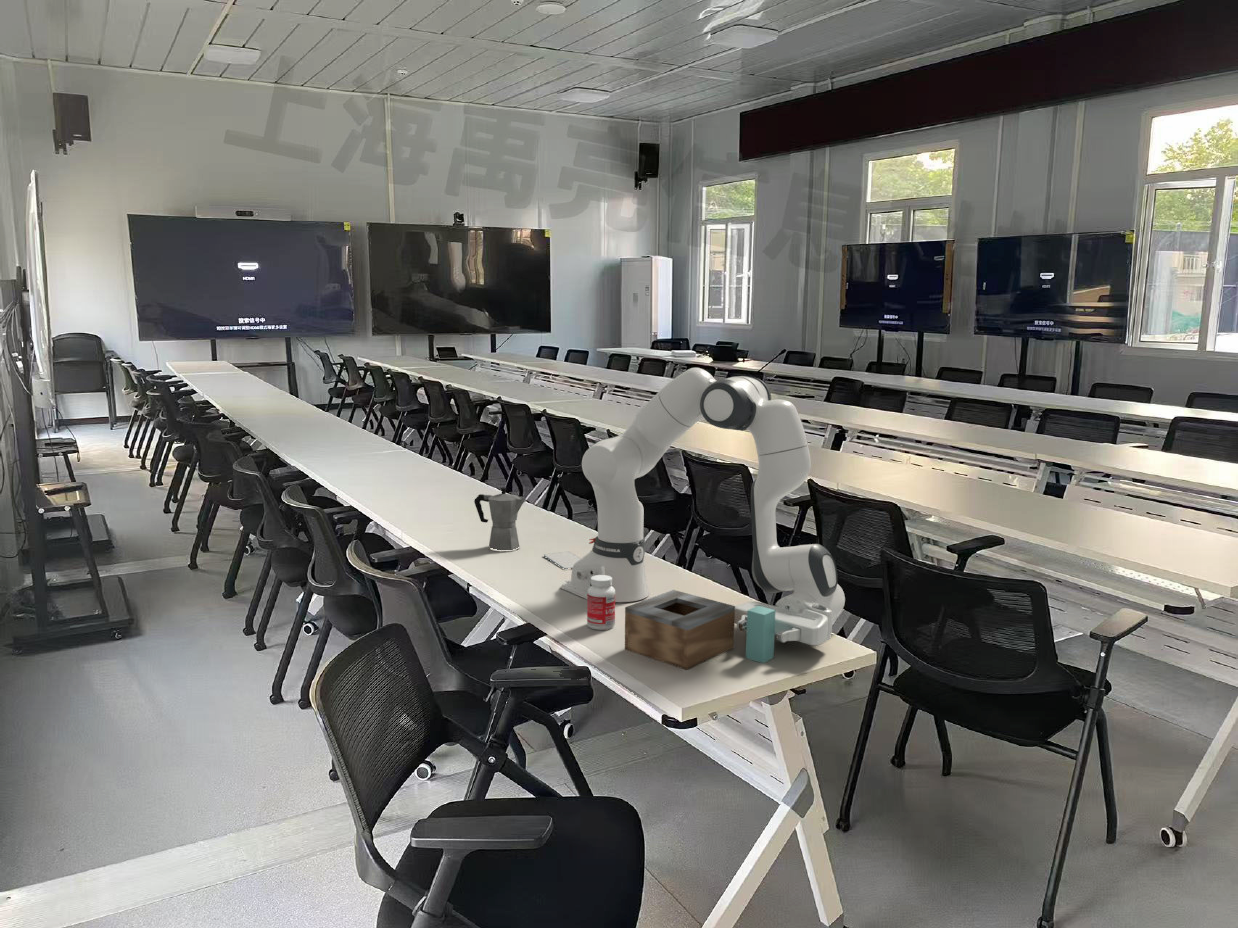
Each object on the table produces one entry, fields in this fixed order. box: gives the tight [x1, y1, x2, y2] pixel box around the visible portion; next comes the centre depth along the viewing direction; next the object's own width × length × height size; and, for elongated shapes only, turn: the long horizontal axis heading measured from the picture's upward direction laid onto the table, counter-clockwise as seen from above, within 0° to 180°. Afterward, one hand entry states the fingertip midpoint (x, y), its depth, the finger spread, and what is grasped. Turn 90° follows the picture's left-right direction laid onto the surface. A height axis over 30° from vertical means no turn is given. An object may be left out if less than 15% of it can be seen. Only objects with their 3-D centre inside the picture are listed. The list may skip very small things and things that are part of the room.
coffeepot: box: [473, 486, 527, 550], centre depth 265 cm, size 15×9×18 cm, turn 80°
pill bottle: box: [586, 575, 616, 631], centre depth 202 cm, size 6×6×11 cm
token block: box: [745, 606, 775, 664], centre depth 184 cm, size 4×4×10 cm
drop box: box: [624, 589, 736, 671], centre depth 189 cm, size 16×16×9 cm
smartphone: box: [543, 551, 582, 569], centre depth 254 cm, size 8×1×15 cm
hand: (759, 632), depth 184 cm, fingers open, 8 cm apart
